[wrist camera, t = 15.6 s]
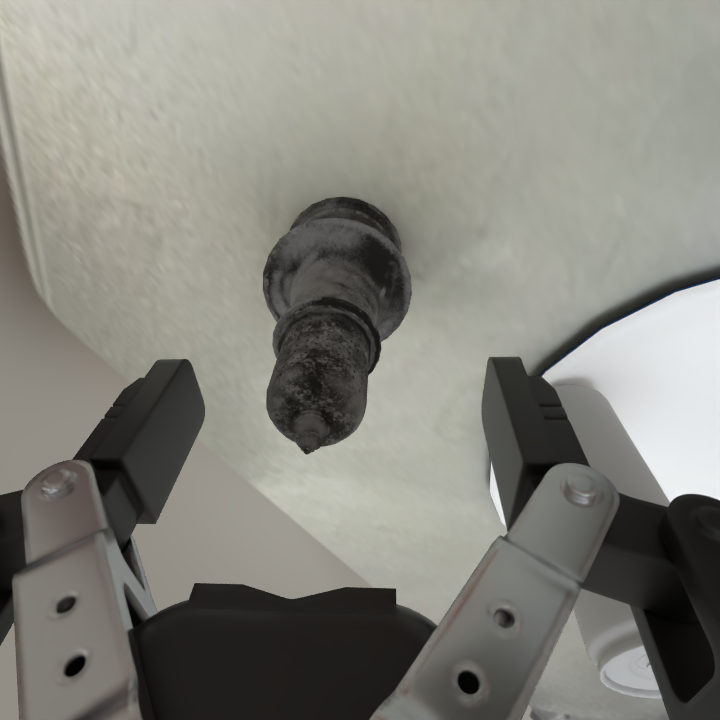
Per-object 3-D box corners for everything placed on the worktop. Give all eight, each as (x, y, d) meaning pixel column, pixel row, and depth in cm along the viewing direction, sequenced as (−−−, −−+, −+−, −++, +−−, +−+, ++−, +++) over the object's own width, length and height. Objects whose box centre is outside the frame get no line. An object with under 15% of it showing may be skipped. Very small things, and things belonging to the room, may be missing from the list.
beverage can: (560, 363, 22) (693, 620, 13) (629, 404, 24) (797, 666, 14) (494, 423, 25) (563, 675, 15) (559, 457, 26) (661, 710, 16)
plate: (641, 179, 18) (656, 188, 17) (1123, 330, 21) (1160, 345, 20) (428, 528, 33) (430, 544, 32) (733, 590, 36) (743, 607, 35)
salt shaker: (270, 294, 22) (180, 499, 13) (292, 172, 19) (193, 325, 9) (385, 324, 23) (385, 541, 13) (427, 212, 20) (466, 393, 10)
